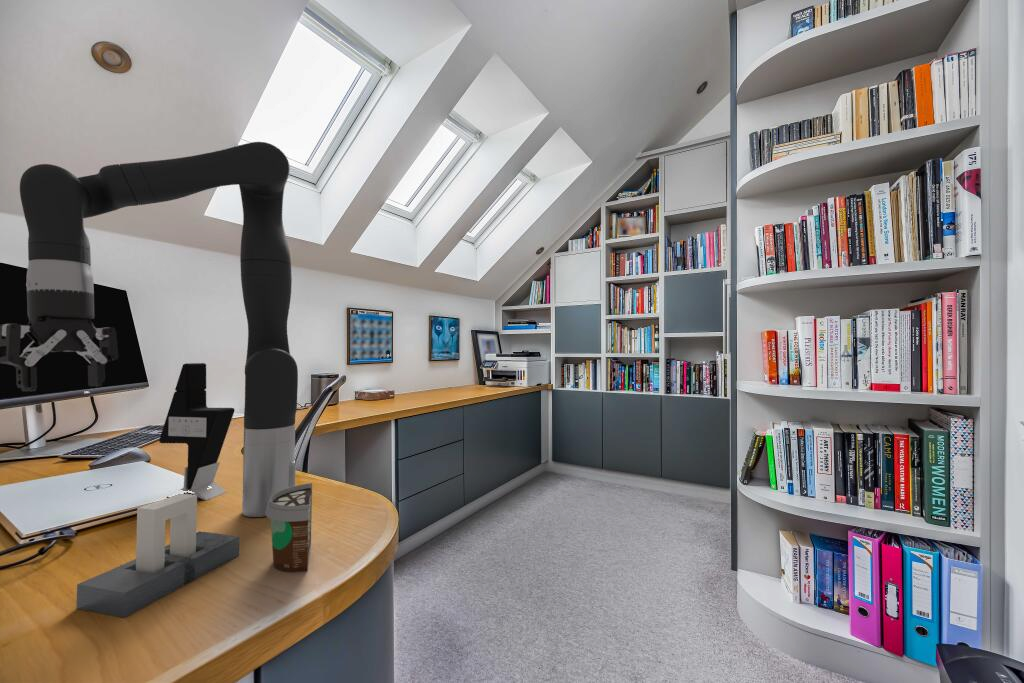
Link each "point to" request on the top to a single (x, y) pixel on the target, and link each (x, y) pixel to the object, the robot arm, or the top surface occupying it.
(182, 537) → the grey arch-shaped block
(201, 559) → the grey slotted base block
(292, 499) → the food container
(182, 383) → the award
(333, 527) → the top surface
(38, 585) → the top surface
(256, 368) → the robot arm
